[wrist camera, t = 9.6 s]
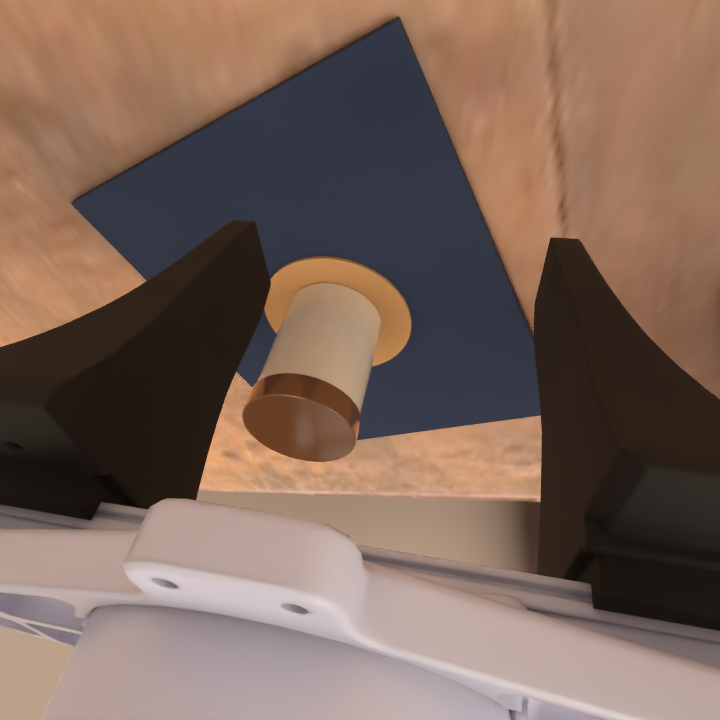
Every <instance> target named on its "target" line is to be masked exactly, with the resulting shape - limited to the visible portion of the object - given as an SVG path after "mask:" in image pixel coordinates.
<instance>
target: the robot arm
mask: <svg viewBox="0 0 720 720" xmlns="http://www.w3.org/2000/svg"><path fill="white" fill-rule="evenodd" d="M270 286H271V281H270V277H269V273H268V269H267V265H266V261H265V257H264V253H263V249H262V246H261V242H260V238H259V234H258V230H257V226H256V222H255V221H240V220H232V221H231V222H229V223H228V224H226V225H225V226H223V227H222V228H220V229H219V230H218V231H216V232H215V233H214V234H212V235H211V236H210V237H208V238H207V239H206V240H204V241H203V242H202V243H200V244H199V245H198V246H196V247H195V248H194V249H192V250H191V251H189V252H188V253H187V254H185V255H184V256H183V257H181V258H180V259H179V260H177V261H176V262H175V263H173V264H172V265H170V266H169V267H167V268H166V269H164V270H163V271H161V272H160V273H158V274H157V275H155V276H154V277H152V278H151V279H150V280H148V281H147V282H145V283H144V284H142V285H140V286H139V287H137V288H135V289H134V290H132V291H130V292H129V293H127V294H125V295H123V296H122V297H120V298H118V299H116V300H114V301H113V302H111V303H109V304H107V305H105V306H103V307H101V308H99V309H97V310H95V311H93V312H90V313H88V314H86V315H84V316H82V317H80V318H77V319H75V320H73V321H71V322H69V323H67V324H64V325H62V326H59V327H57V328H54V329H52V330H49V331H47V332H44V333H41V334H39V335H36V336H33V337H30V338H28V339H25V340H22V341H19V342H16V343H13V344H9V345H6V346H3V347H0V627H4V628H8V629H11V630H15V631H19V632H22V633H26V634H29V635H33V636H37V637H40V638H44V639H48V640H51V641H55V642H58V643H62V644H66V645H69V646H73V647H75V648H74V650H73V652H72V654H71V656H70V658H69V660H68V662H67V664H66V666H65V668H64V670H63V672H62V674H61V676H60V678H59V680H58V682H57V684H56V686H55V688H54V690H53V692H52V695H51V696H50V699H49V700H48V702H47V704H46V707H45V708H44V710H43V712H42V715H41V717H40V719H39V720H720V399H718V398H717V397H716V396H715V395H713V394H712V393H711V392H709V391H708V390H707V389H705V388H704V387H703V386H702V385H700V384H699V383H698V382H697V381H696V380H695V379H693V378H692V377H691V376H690V375H689V374H687V373H686V372H685V371H684V370H683V369H681V368H680V367H679V366H678V365H677V364H676V363H675V362H674V361H673V360H671V359H670V358H669V357H668V356H667V355H666V354H665V353H664V352H663V351H662V350H661V349H660V348H659V347H658V346H657V345H656V344H655V343H654V342H653V341H652V340H651V339H650V338H649V337H648V335H647V334H646V333H645V332H644V331H643V330H642V329H641V328H640V326H639V325H638V324H637V323H636V321H635V320H634V319H633V318H632V317H631V315H630V314H629V313H628V312H627V310H626V309H625V308H624V306H623V305H622V304H621V302H620V301H619V300H618V298H617V297H616V295H615V294H614V293H613V291H612V290H611V288H610V287H609V286H608V284H607V283H606V281H605V280H604V278H603V277H602V275H601V273H600V272H599V270H598V269H597V267H596V266H595V264H594V262H593V261H592V259H591V257H590V256H589V254H588V252H587V251H586V249H585V247H584V246H583V244H582V243H581V241H580V240H579V239H568V238H550V243H549V247H548V251H547V255H546V259H545V263H544V268H543V272H542V276H541V280H540V284H539V288H538V292H537V297H536V301H535V310H534V351H535V361H536V371H537V381H538V391H539V401H540V410H541V424H542V466H541V507H540V530H539V552H538V571H537V575H536V574H530V573H523V572H518V571H512V570H506V569H500V568H494V567H487V566H482V565H476V564H470V563H464V562H458V561H451V560H446V559H440V558H433V557H428V556H422V555H416V554H410V553H404V552H398V551H392V550H386V549H380V548H374V547H368V546H362V545H357V544H355V543H354V542H353V541H352V539H351V538H350V537H349V536H348V535H347V534H345V533H343V532H341V531H339V530H338V529H336V528H334V527H332V526H330V525H328V524H325V523H321V522H317V521H314V520H310V519H306V518H302V517H296V516H290V515H284V514H277V513H271V512H265V511H259V510H253V509H247V508H241V507H234V506H228V505H222V504H216V503H210V502H203V501H197V500H196V498H197V493H198V489H199V485H200V482H201V478H202V474H203V470H204V466H205V462H206V458H207V455H208V451H209V448H210V445H211V441H212V438H213V434H214V431H215V428H216V424H217V421H218V418H219V415H220V412H221V409H222V406H223V403H224V400H225V397H226V394H227V392H228V389H229V387H230V384H231V382H232V380H233V377H234V375H235V373H236V371H237V369H238V367H239V365H240V363H241V360H242V358H243V356H244V354H245V352H246V350H247V348H248V345H249V343H250V341H251V339H252V337H253V335H254V332H255V330H256V328H257V326H258V324H259V321H260V319H261V317H262V314H263V311H264V307H265V304H266V301H267V297H268V294H269V290H270Z"/></svg>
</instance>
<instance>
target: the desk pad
mask: <svg viewBox="0 0 720 720" xmlns="http://www.w3.org/2000/svg"><path fill="white" fill-rule="evenodd" d="M71 204H72V205H73V206H74V207H75V208H76V209H77V210H78V211H79V212H80V213H81V214H82V215H83V216H84V217H85V218H86V219H87V220H88V221H89V222H90V223H91V224H92V225H93V226H94V227H95V228H96V229H97V230H98V231H99V232H100V233H101V234H102V235H103V237H104V238H105V239H106V240H107V241H108V242H109V243H110V244H111V245H112V246H113V247H114V248H115V249H116V250H117V251H118V252H119V253H120V254H121V255H122V256H123V257H124V258H125V259H126V260H127V261H128V262H129V263H130V264H131V265H132V266H133V267H134V268H135V269H136V270H137V271H138V272H139V273H140V274H141V275H142V276H143V277H144V278H145V279H146V280H147V281H148V280H150V279H151V278H152V277H154V276H155V275H157V274H158V273H160V272H161V271H163V270H164V269H166V268H167V267H169V266H170V265H172V264H173V263H175V262H176V261H177V260H179V259H180V258H181V257H183V256H184V255H185V254H187V253H188V252H189V251H191V250H192V249H194V248H195V247H196V246H198V245H199V244H200V243H202V242H203V241H204V240H206V239H207V238H208V237H210V236H211V235H212V234H214V233H215V232H216V231H218V230H219V229H220V228H222V227H223V226H225V225H226V224H228V223H229V222H231V221H232V220H240V221H255V222H256V226H257V230H258V234H259V238H260V242H261V246H262V249H263V253H264V257H265V261H266V265H267V269H268V273H269V277H270V281H271V286H270V290H269V294H268V297H267V301H266V304H265V307H264V311H263V314H262V317H261V319H260V321H259V324H258V326H257V328H256V330H255V332H254V335H253V337H252V339H251V341H250V343H249V345H248V348H247V350H246V352H245V354H244V356H243V358H242V360H241V363H240V365H239V367H238V369H237V372H238V373H239V374H240V375H241V376H242V377H243V378H244V379H245V380H246V381H247V382H248V383H249V384H250V385H251V386H252V387H253V386H254V385H255V384H256V383H257V381H258V378H259V376H260V374H261V371H262V369H263V366H264V364H265V362H266V359H267V357H268V354H269V352H270V350H271V347H272V345H273V342H274V340H275V337H276V335H277V333H278V330H279V328H280V325H281V323H282V321H283V318H284V316H285V313H286V311H287V309H288V306H289V304H290V301H291V299H292V298H293V296H294V295H295V294H296V293H297V292H298V291H299V290H301V289H302V288H304V287H306V286H309V285H312V284H316V283H334V284H340V285H343V286H346V287H349V288H351V289H354V290H355V291H357V292H359V293H361V294H362V295H364V296H365V297H366V298H367V299H368V300H369V301H370V302H371V303H372V304H373V305H374V306H375V308H376V310H377V311H378V314H379V316H380V320H381V331H380V335H379V339H378V343H377V348H376V352H375V356H374V360H373V364H372V368H371V373H370V377H369V381H368V385H367V389H366V394H365V398H364V402H363V406H362V410H361V424H360V428H359V432H358V437H357V440H361V439H368V438H375V437H383V436H390V435H398V434H405V433H412V432H420V431H427V430H435V429H442V428H450V427H457V426H464V425H472V424H479V423H487V422H494V421H501V420H509V419H516V418H524V417H531V416H538V415H541V410H540V401H539V391H538V381H537V371H536V361H535V351H534V337H533V335H532V332H531V330H530V328H529V325H528V323H527V320H526V318H525V316H524V313H523V311H522V309H521V306H520V304H519V301H518V299H517V297H516V294H515V292H514V289H513V287H512V285H511V282H510V280H509V277H508V275H507V273H506V270H505V268H504V266H503V263H502V261H501V258H500V256H499V254H498V251H497V249H496V246H495V244H494V242H493V239H492V237H491V234H490V232H489V230H488V227H487V225H486V223H485V220H484V218H483V215H482V213H481V211H480V208H479V206H478V203H477V201H476V199H475V196H474V194H473V191H472V189H471V187H470V184H469V182H468V180H467V177H466V175H465V172H464V170H463V168H462V165H461V163H460V160H459V158H458V156H457V153H456V151H455V148H454V146H453V144H452V141H451V139H450V137H449V134H448V132H447V129H446V127H445V125H444V122H443V120H442V117H441V115H440V113H439V110H438V108H437V105H436V103H435V101H434V98H433V96H432V94H431V91H430V89H429V86H428V84H427V82H426V79H425V77H424V74H423V72H422V70H421V67H420V65H419V62H418V60H417V58H416V55H415V53H414V51H413V48H412V46H411V43H410V41H409V39H408V36H407V34H406V31H405V29H404V27H403V24H402V22H401V19H400V18H399V17H397V18H395V19H394V20H392V21H390V22H388V23H387V24H385V25H383V26H381V27H379V28H378V29H376V30H374V31H372V32H371V33H369V34H367V35H365V36H364V37H362V38H360V39H358V40H356V41H355V42H353V43H351V44H349V45H348V46H346V47H344V48H342V49H341V50H339V51H337V52H335V53H333V54H332V55H330V56H328V57H326V58H325V59H323V60H321V61H319V62H317V63H316V64H314V65H312V66H310V67H309V68H307V69H305V70H303V71H302V72H300V73H298V74H296V75H294V76H293V77H291V78H289V79H287V80H286V81H284V82H282V83H280V84H279V85H277V86H275V87H273V88H271V89H270V90H268V91H266V92H264V93H263V94H261V95H259V96H257V97H255V98H254V99H252V100H250V101H248V102H247V103H245V104H243V105H241V106H240V107H238V108H236V109H234V110H232V111H231V112H229V113H227V114H225V115H224V116H222V117H220V118H218V119H217V120H215V121H213V122H211V123H209V124H208V125H206V126H204V127H202V128H201V129H199V130H197V131H195V132H193V133H192V134H190V135H188V136H186V137H185V138H183V139H181V140H179V141H178V142H176V143H174V144H172V145H170V146H169V147H167V148H165V149H163V150H162V151H160V152H158V153H156V154H155V155H153V156H151V157H149V158H147V159H146V160H144V161H142V162H140V163H139V164H137V165H135V166H133V167H131V168H130V169H128V170H126V171H124V172H123V173H121V174H119V175H117V176H116V177H114V178H112V179H110V180H108V181H107V182H105V183H103V184H101V185H100V186H98V187H96V188H94V189H93V190H91V191H89V192H87V193H85V194H84V195H82V196H80V197H78V198H77V199H75V200H74V201H73V202H72V203H71Z"/></svg>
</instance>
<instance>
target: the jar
mask: <svg viewBox="0 0 720 720" xmlns="http://www.w3.org/2000/svg"><path fill="white" fill-rule="evenodd" d="M380 331H381V320H380V316H379V314H378V311H377V310H376V308H375V306H374V305H373V304H372V303H371V302H370V301H369V300H368V299H367V298H366V297H365V296H364V295H362V294H361V293H359V292H357V291H355V290H354V289H351V288H349V287H346V286H343V285H340V284H334V283H316V284H312V285H309V286H306V287H304V288H302V289H301V290H299V291H298V292H297V293H296V294H295V295H294V296H293V298H292V299H291V301H290V304H289V306H288V309H287V311H286V313H285V316H284V318H283V321H282V323H281V325H280V328H279V330H278V333H277V335H276V337H275V340H274V342H273V345H272V347H271V350H270V352H269V354H268V357H267V359H266V362H265V364H264V366H263V369H262V371H261V374H260V376H259V378H258V381H257V383H256V384H255V385H254V386H253V388H252V389H251V392H250V394H249V397H248V399H247V401H246V404H245V406H244V409H243V412H242V418H243V422H244V425H245V427H246V428H247V430H248V431H249V432H250V434H251V435H252V436H253V437H254V438H255V439H257V440H258V441H259V442H260V443H262V444H263V445H265V446H266V447H268V448H270V449H272V450H274V451H276V452H278V453H280V454H283V455H286V456H288V457H292V458H295V459H300V460H305V461H314V462H326V461H334V460H338V459H341V458H343V457H345V456H347V455H348V454H349V453H350V452H351V451H352V450H353V449H354V447H355V445H356V441H357V437H358V432H359V428H360V424H361V410H362V406H363V402H364V398H365V394H366V389H367V385H368V381H369V377H370V373H371V368H372V364H373V360H374V356H375V352H376V348H377V343H378V339H379V335H380Z"/></svg>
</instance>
